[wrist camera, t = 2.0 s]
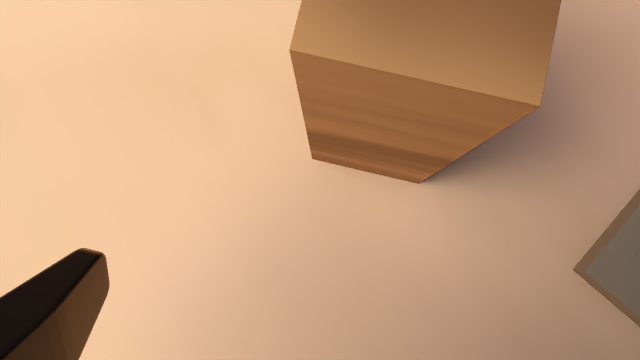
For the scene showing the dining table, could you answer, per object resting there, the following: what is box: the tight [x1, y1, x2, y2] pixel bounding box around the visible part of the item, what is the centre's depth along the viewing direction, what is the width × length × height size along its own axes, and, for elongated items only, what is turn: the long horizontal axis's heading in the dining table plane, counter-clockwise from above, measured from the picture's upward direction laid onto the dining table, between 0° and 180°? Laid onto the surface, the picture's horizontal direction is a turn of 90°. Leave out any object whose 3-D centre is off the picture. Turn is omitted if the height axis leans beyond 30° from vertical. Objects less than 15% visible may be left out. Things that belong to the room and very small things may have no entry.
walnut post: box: [290, 0, 561, 184], centre depth 16 cm, size 4×4×13 cm
